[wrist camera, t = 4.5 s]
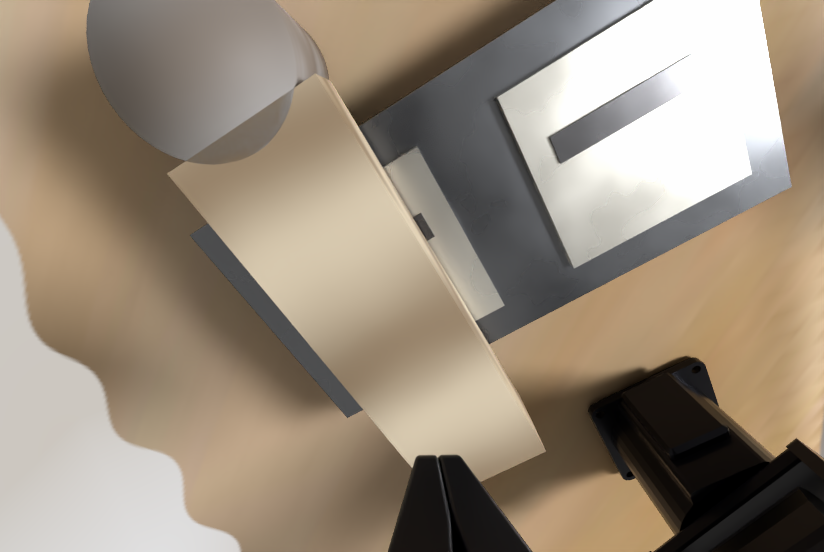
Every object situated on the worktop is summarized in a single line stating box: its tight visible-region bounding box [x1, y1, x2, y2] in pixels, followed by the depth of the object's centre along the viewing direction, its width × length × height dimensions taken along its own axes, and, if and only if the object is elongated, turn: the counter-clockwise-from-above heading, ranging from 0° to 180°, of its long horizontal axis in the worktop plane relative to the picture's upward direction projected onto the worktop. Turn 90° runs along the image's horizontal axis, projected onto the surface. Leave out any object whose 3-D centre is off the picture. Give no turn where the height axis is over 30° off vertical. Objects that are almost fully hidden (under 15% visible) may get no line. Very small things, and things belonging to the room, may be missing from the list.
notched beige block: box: [86, 0, 546, 482], centre depth 14 cm, size 18×4×6 cm, turn 30°
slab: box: [190, 0, 792, 418], centre depth 16 cm, size 10×20×3 cm, turn 120°
